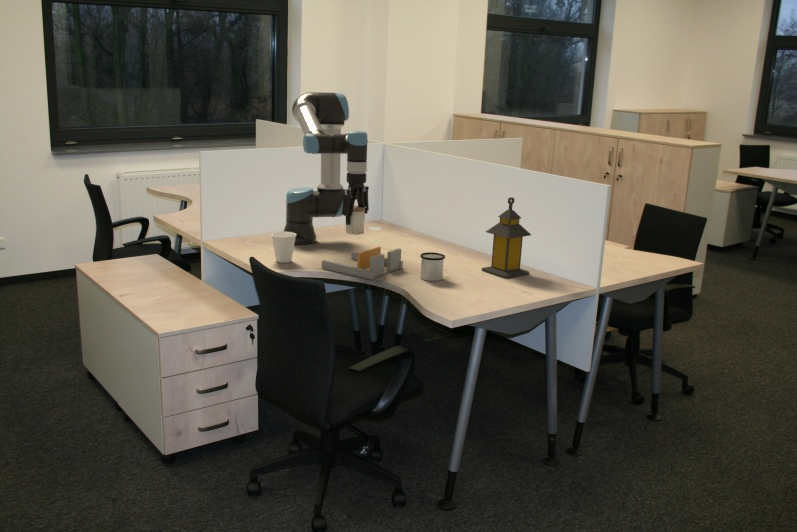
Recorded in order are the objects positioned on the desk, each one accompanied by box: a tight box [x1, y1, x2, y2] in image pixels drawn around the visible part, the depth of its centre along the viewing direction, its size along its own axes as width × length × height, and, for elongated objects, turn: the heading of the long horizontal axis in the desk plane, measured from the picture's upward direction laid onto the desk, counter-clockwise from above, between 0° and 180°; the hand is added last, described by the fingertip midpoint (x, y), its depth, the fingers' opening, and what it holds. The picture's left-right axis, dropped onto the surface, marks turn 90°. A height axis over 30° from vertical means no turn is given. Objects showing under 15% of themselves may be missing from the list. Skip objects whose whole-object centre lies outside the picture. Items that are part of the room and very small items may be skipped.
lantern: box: [481, 197, 532, 280], centre depth 292 cm, size 14×14×30 cm
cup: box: [270, 231, 296, 264], centre depth 297 cm, size 10×10×11 cm
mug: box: [419, 251, 446, 282], centre depth 283 cm, size 12×10×9 cm
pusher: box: [356, 246, 388, 270], centre depth 288 cm, size 14×9×7 cm, turn 147°
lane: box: [321, 248, 404, 281], centre depth 291 cm, size 21×24×8 cm
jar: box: [346, 205, 366, 236], centre depth 289 cm, size 7×7×10 cm
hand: (355, 231), depth 291 cm, fingers closed on jar, 7 cm apart
